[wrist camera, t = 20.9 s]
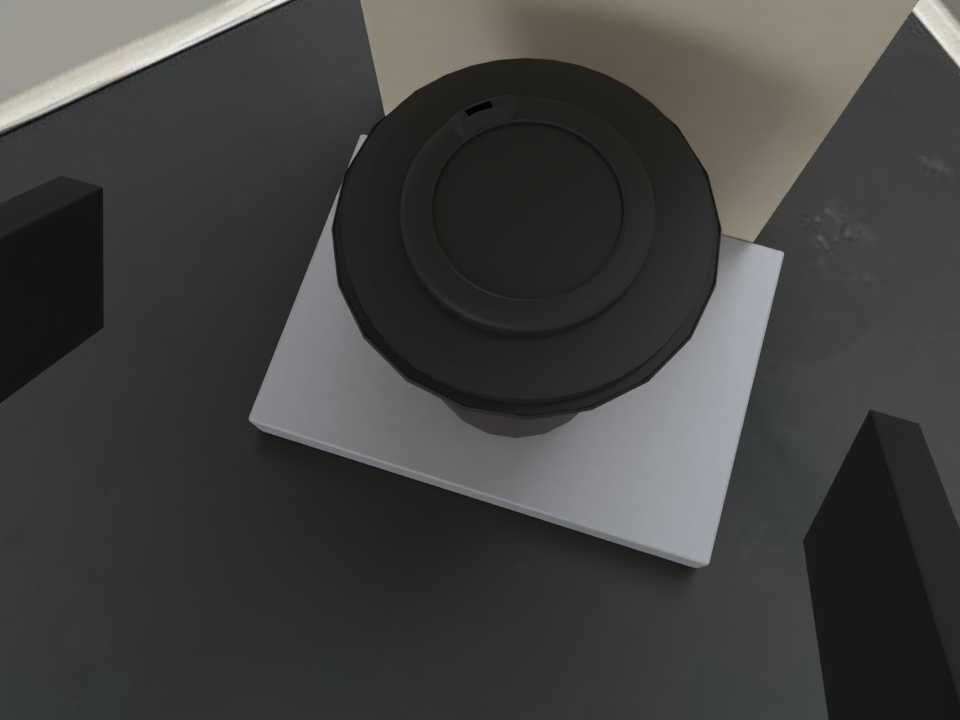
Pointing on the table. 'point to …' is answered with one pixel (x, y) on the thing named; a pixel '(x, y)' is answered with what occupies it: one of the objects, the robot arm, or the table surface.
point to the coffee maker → (726, 319)
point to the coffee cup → (526, 241)
